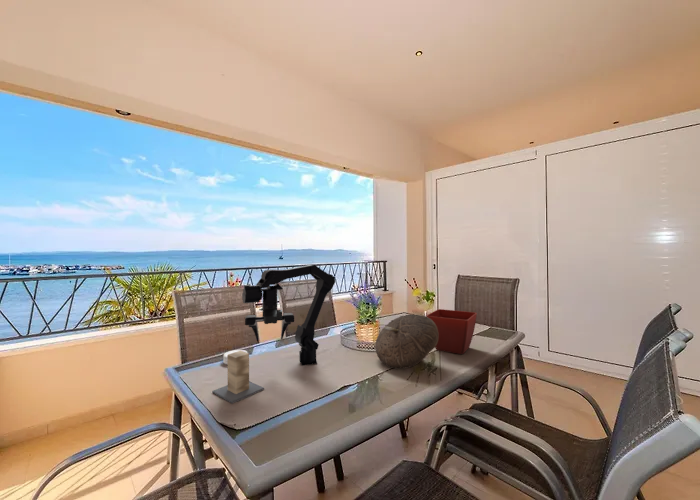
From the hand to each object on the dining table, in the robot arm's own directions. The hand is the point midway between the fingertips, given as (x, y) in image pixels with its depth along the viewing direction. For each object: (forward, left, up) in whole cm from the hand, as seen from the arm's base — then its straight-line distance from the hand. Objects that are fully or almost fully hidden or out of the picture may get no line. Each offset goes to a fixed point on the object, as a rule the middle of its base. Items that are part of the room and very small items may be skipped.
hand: (269, 340), depth 120 cm
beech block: (+11, +15, -11) cm, 22 cm away
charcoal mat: (+11, +15, -12) cm, 22 cm away
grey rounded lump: (-56, +8, -12) cm, 58 cm away
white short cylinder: (+14, -16, -13) cm, 25 cm away
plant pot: (-85, 0, -12) cm, 86 cm away
